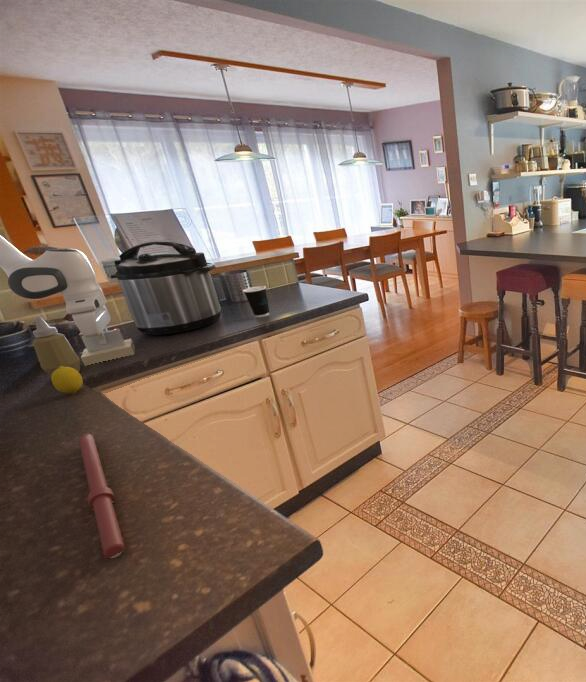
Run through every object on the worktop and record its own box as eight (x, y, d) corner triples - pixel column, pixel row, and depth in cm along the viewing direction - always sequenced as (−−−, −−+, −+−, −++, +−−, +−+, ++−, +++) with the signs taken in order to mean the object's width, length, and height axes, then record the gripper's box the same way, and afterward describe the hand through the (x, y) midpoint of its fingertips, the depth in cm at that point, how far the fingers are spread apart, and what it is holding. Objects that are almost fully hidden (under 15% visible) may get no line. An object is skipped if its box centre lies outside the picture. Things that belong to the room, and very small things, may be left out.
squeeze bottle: (48, 383, 123) (17, 324, 116) (47, 376, 128) (17, 318, 122) (86, 373, 128) (58, 315, 122) (83, 366, 134) (56, 311, 127)
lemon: (74, 389, 118) (60, 362, 116) (93, 388, 118) (80, 361, 115) (53, 399, 113) (39, 371, 110) (73, 398, 113) (59, 370, 110)
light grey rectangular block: (88, 352, 137) (80, 336, 135) (89, 350, 138) (82, 334, 136) (124, 344, 141) (117, 329, 139) (125, 342, 143) (119, 327, 141)
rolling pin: (133, 553, 63) (124, 536, 62) (104, 567, 61) (95, 551, 60) (99, 441, 92) (92, 428, 91) (79, 448, 90) (72, 435, 89)
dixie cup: (270, 317, 169) (262, 289, 165) (248, 320, 168) (239, 292, 164) (275, 311, 177) (268, 285, 173) (254, 314, 175) (246, 287, 171)
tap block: (81, 368, 132) (77, 359, 131) (86, 356, 142) (82, 347, 141) (136, 355, 140) (132, 346, 138) (137, 344, 149) (133, 336, 148)
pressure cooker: (244, 315, 174) (219, 235, 162) (169, 341, 150) (133, 249, 138) (198, 310, 186) (172, 235, 174) (121, 333, 162) (84, 248, 150)
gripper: (81, 296, 141) (99, 335, 146) (63, 310, 124) (84, 354, 130) (106, 292, 144) (123, 331, 149) (92, 305, 127) (112, 348, 133)
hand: (105, 342), depth 139 cm, fingers closed
